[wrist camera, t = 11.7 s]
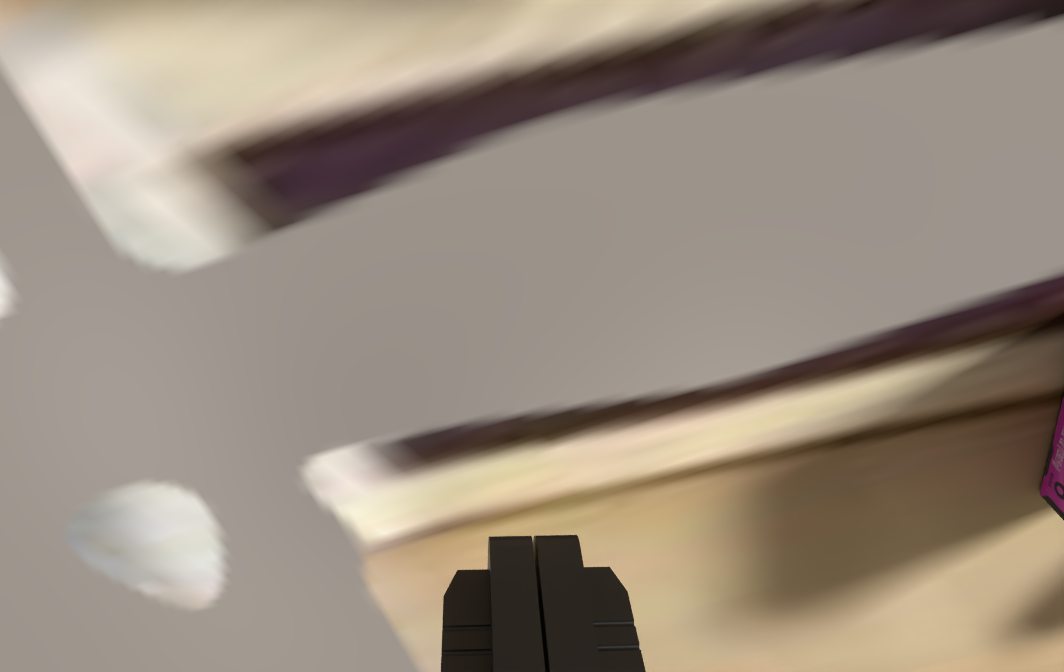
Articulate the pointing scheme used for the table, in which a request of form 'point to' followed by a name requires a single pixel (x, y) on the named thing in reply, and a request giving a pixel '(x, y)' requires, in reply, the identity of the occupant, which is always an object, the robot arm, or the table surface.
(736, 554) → the table surface
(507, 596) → the robot arm
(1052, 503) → the candy bar box
